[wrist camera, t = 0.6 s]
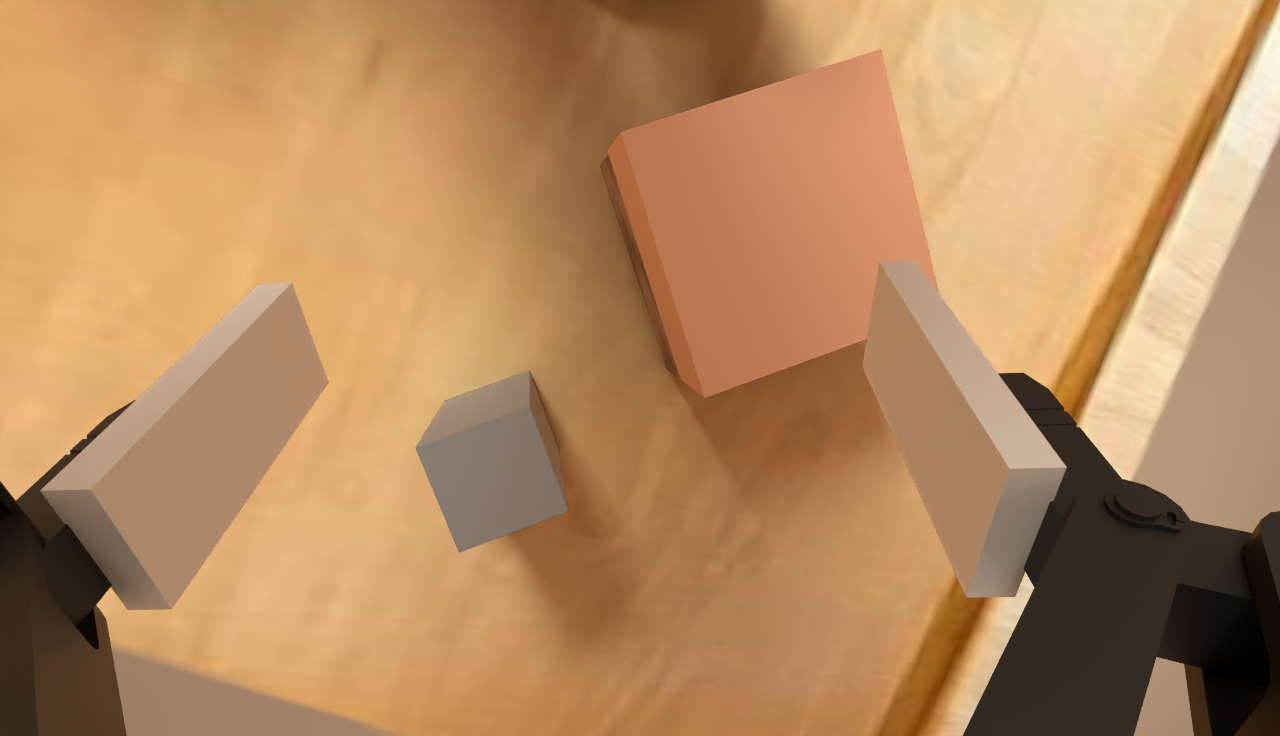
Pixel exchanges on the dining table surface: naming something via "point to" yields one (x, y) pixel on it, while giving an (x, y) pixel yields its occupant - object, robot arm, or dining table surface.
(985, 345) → the dining table surface
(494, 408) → the grey block
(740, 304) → the tower top
